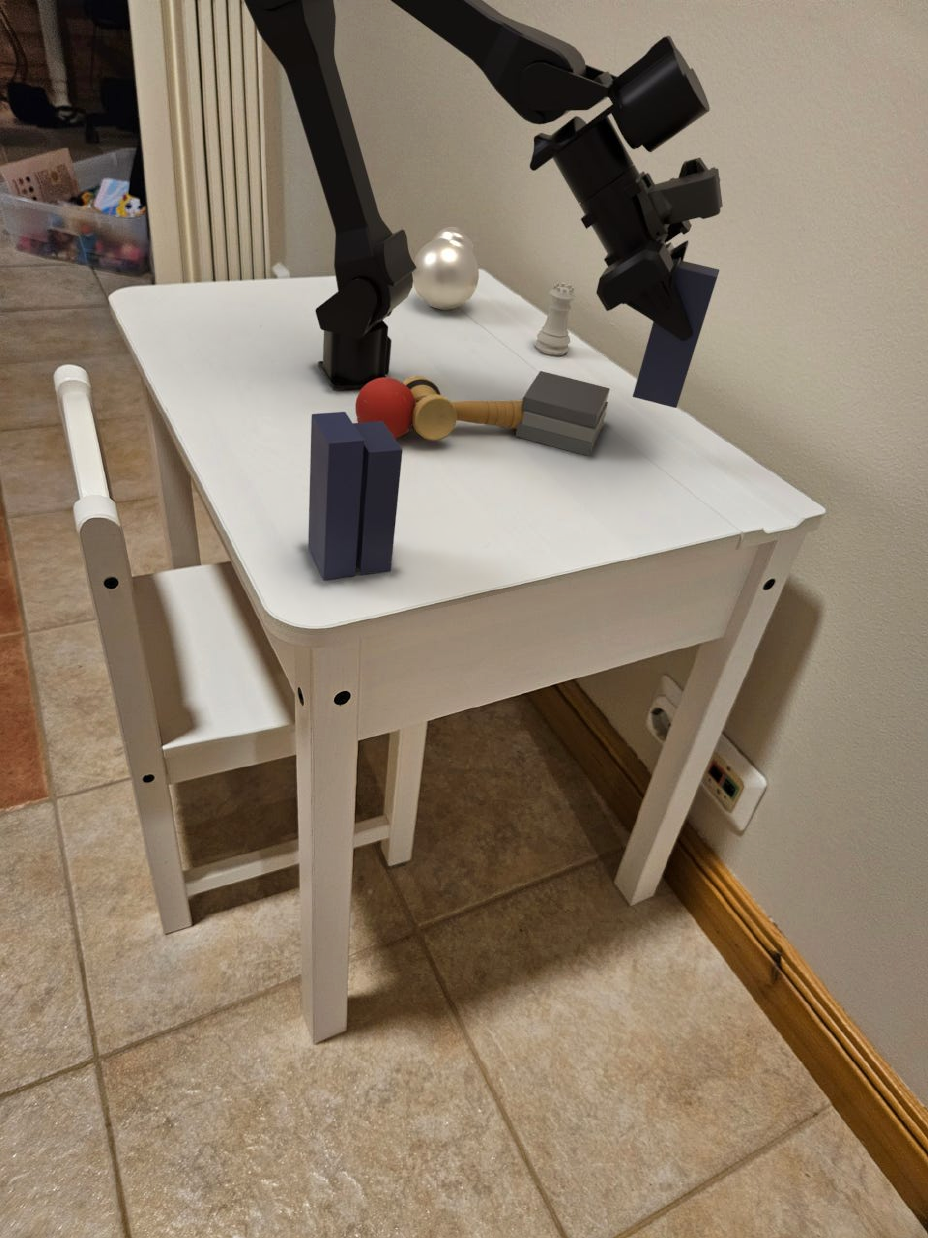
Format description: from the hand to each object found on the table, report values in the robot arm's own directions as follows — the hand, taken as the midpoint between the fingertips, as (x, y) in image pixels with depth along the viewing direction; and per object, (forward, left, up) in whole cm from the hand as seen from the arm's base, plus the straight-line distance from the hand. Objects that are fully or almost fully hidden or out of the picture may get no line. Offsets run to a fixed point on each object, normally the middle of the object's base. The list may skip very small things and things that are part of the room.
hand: (690, 333), depth 85 cm
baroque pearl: (-7, +43, -13) cm, 45 cm away
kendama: (-21, +9, -13) cm, 26 cm away
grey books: (-8, +7, -13) cm, 17 cm away
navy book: (-1, +1, -7) cm, 7 cm away
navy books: (-37, -11, -13) cm, 41 cm away
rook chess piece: (+2, +28, -13) cm, 31 cm away
